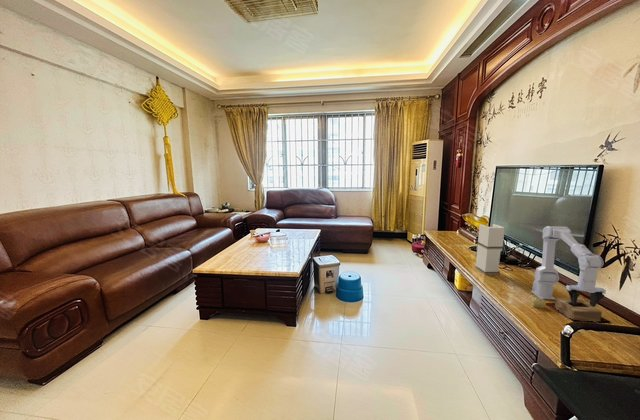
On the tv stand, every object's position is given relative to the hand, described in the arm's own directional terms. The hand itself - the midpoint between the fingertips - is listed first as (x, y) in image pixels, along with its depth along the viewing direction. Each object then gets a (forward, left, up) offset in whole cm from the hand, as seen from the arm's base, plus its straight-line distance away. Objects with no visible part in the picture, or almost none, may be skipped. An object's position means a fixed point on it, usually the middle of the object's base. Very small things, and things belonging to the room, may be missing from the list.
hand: (582, 304), depth 124 cm
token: (-14, -10, -10) cm, 20 cm away
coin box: (-7, +4, -10) cm, 13 cm away
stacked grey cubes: (-61, -14, -10) cm, 64 cm away
